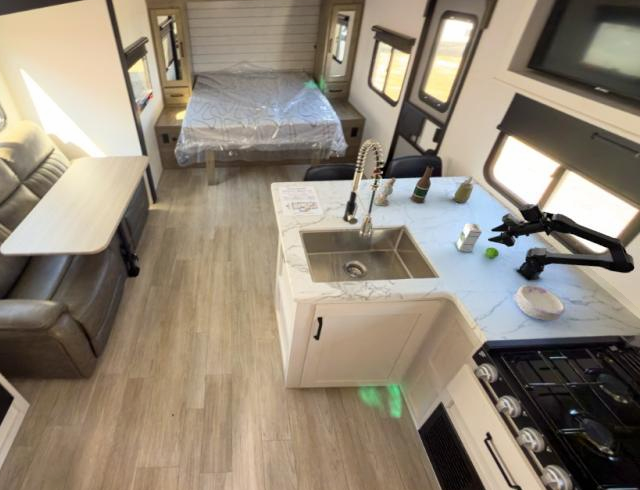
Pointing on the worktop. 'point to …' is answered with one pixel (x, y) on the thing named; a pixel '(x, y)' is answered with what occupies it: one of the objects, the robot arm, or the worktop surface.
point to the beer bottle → (422, 186)
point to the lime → (492, 252)
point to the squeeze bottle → (464, 191)
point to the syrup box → (468, 237)
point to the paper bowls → (539, 302)
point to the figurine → (385, 192)
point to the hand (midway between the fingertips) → (489, 235)
